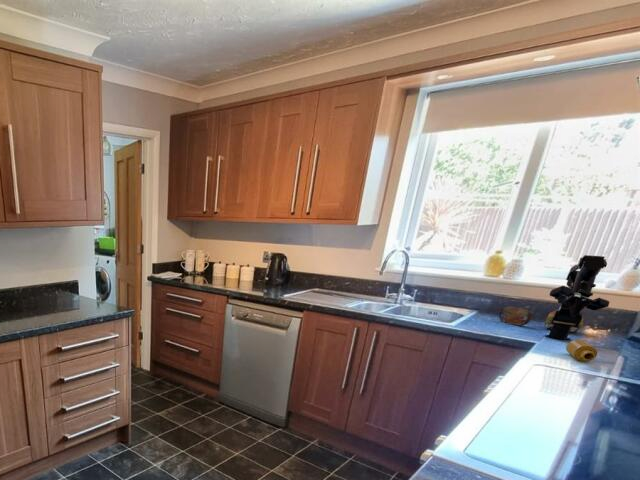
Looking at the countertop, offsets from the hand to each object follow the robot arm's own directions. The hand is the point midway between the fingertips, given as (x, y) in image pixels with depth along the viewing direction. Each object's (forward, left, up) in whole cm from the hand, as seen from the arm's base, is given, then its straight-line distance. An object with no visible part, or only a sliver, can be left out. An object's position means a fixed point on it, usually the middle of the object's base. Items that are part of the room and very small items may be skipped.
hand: (573, 316), depth 176 cm
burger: (-35, -25, -13) cm, 45 cm away
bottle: (+9, +11, -10) cm, 18 cm away
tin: (-23, -39, -13) cm, 47 cm away
